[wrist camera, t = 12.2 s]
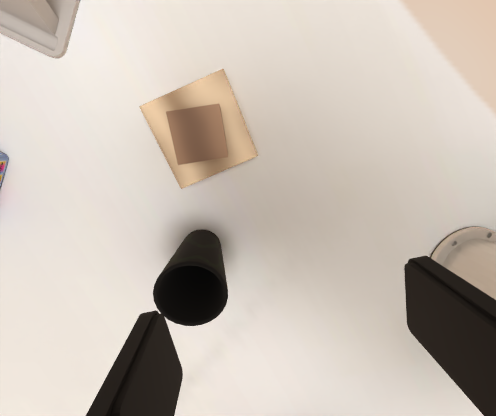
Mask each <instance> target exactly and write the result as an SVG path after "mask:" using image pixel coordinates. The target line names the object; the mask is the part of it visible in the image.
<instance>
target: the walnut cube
mask: <svg viewBox="0 0 496 416" xmlns="http://www.w3.org/2000/svg"><path fill="white" fill-rule="evenodd" d="M166 114H167V119H168V123H169V128H170V132H171V137H172V141H173V145H174V150H175V154H176V159H177V163H178V165H182V164H188V163H194V162H201V161H207V160H213V159H220V158H226V157H228V149H227V143H226V137H225V131H224V125H223V119H222V113H221V107H220V104H212V105H206V106H199V107H193V108H186V109H180V110H173V111H167V112H166Z"/></svg>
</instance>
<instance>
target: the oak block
mask: <svg viewBox="0 0 496 416" xmlns="http://www.w3.org/2000/svg"><path fill="white" fill-rule="evenodd" d="M212 104H220V107H221V113H222V119H223V125H224V131H225V137H226V143H227V149H228V157H226V158H220V159H213V160H207V161H201V162H194V163H188V164H182V165H178V163H177V159H176V154H175V150H174V145H173V141H172V137H171V132H170V128H169V123H168V119H167V114H166V112H167V111H173V110H180V109H186V108H193V107H199V106H206V105H212ZM139 107H140V109H141V111H142V113H143V115H144V117H145V119H146V121H147V123H148V125H149V127H150V129H151V131H152V132H153V134H154V136H155V138H156V140H157V142H158V144H159V146H160V148H161V150H162V152H163V154H164V156H165V158H166V160H167V162H168V164H169V166H170V168H171V170H172V172H173V174H174V176H175V178H176V180H177V182H178V184H179V186H180V188H181V189H182V188H185V187H187V186H189V185H192V184H194V183H196V182H199V181H201V180H203V179H205V178H208V177H210V176H212V175H215V174H217V173H219V172H222V171H224V170H226V169H229V168H231V167H233V166H236V165H238V164H240V163H243V162H245V161H247V160H249V159H252V158H254V157H256V156H258V154H257V151H256V149H255V146H254V144H253V141H252V139H251V136H250V134H249V131H248V129H247V126H246V124H245V121H244V119H243V116H242V114H241V111H240V109H239V106H238V104H237V101H236V99H235V96H234V94H233V91H232V89H231V86H230V84H229V81H228V79H227V76H226V74H225V71H224V69H221V70H219V71H217V72H215V73H213V74H210V75H208V76H206V77H204V78H201V79H199V80H197V81H195V82H193V83H190V84H188V85H186V86H184V87H181V88H179V89H177V90H175V91H173V92H170V93H168V94H166V95H164V96H162V97H159V98H157V99H155V100H153V101H150V102H148V103H146V104H144V105H142V106H139Z"/></svg>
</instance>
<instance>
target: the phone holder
mask: <svg viewBox="0 0 496 416" xmlns="http://www.w3.org/2000/svg"><path fill="white" fill-rule="evenodd" d="M79 3H80V0H0V33H2V34H4V35H6V36H8V37H10V38H12V39H14V40H17V41H19V42H21V43H23V44H25V45H27V46H29V47H31V48H33V49H35V50H37V51H40V52H42V53H44V54H46V55H48V56H50V57H53V58H60V57H62V56H64V55H65V53H66V51H67V47H68V43H69V40H70V36H71V32H72V29H73V25H74V21H75V18H76V14H77V10H78V7H79Z"/></svg>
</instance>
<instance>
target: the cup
mask: <svg viewBox="0 0 496 416" xmlns="http://www.w3.org/2000/svg"><path fill="white" fill-rule="evenodd" d="M153 296H154V302H155V304H156V307H157V309H158V310H159V311H160V312H161V314H163V315H164V316H165V317H166V318H167V319H168V320H170V321H172V322H174V323H176V324H180V325H184V326H196V325H202V324H205V323H208V322H210V321H212V320H213V319H215V318H216V317H217V316H218V315H219V314H220V313H221V312H222V311H223V309H224V307H225V305H226V303H227V299H228V289H227V282H226V276H225V269H224V263H223V256H222V249H221V244H220V241H219V239H218V237H217V236H216V235H215V234H214V233H212V232H210V231H207V230H196V231H193V232H191V233H190V234H188V236H187V237H186V238H185V239H184V241H183V242H182V244H181V245H180V246H179V248H178V249H177V251H176V252H175V254H174V255H173V257H172V258H171V259H170V261H169V262H168V264H167V265H166V267H165V268H164V270H163V271H162V272H161V274H160V275H159V277H158V278H157V281H156V283H155V285H154V290H153Z"/></svg>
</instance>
